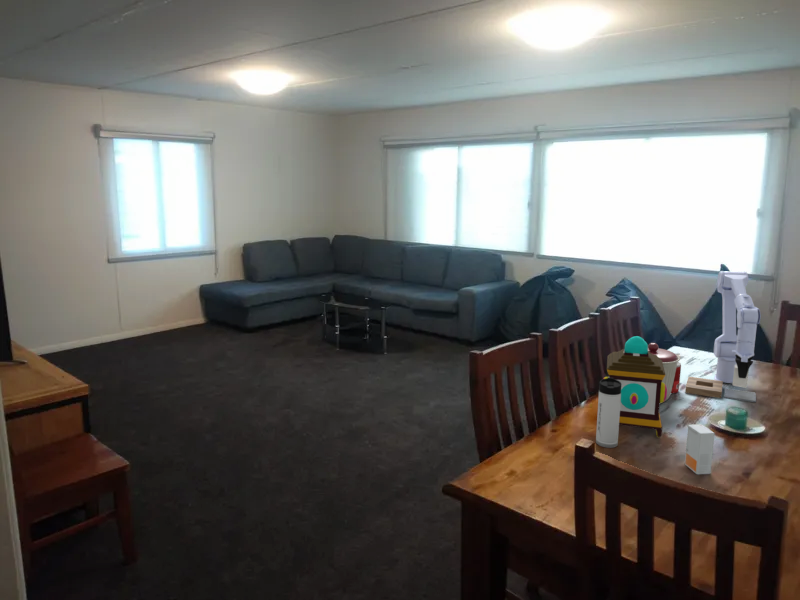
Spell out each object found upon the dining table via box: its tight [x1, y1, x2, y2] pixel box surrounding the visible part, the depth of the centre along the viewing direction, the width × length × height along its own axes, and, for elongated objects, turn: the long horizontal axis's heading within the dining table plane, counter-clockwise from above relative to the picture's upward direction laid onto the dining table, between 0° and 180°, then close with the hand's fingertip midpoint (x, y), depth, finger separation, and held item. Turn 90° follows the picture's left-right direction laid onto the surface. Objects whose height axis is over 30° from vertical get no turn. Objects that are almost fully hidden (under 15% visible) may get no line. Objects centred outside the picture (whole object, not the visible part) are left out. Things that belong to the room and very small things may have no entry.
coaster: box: [724, 388, 757, 403], centre depth 216 cm, size 10×10×1 cm
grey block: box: [732, 364, 750, 389], centre depth 214 cm, size 4×4×7 cm
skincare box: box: [684, 424, 715, 475], centre depth 158 cm, size 6×4×12 cm
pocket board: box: [684, 376, 724, 399], centre depth 222 cm, size 14×12×2 cm
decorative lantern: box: [602, 335, 667, 438], centre depth 187 cm, size 20×20×30 cm
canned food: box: [671, 361, 682, 394], centre depth 221 cm, size 8×8×11 cm
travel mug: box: [595, 378, 622, 449], centre depth 174 cm, size 6×7×20 cm
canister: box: [647, 342, 681, 403], centre depth 212 cm, size 18×18×21 cm
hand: (742, 376), depth 214 cm, fingers closed on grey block, 4 cm apart
